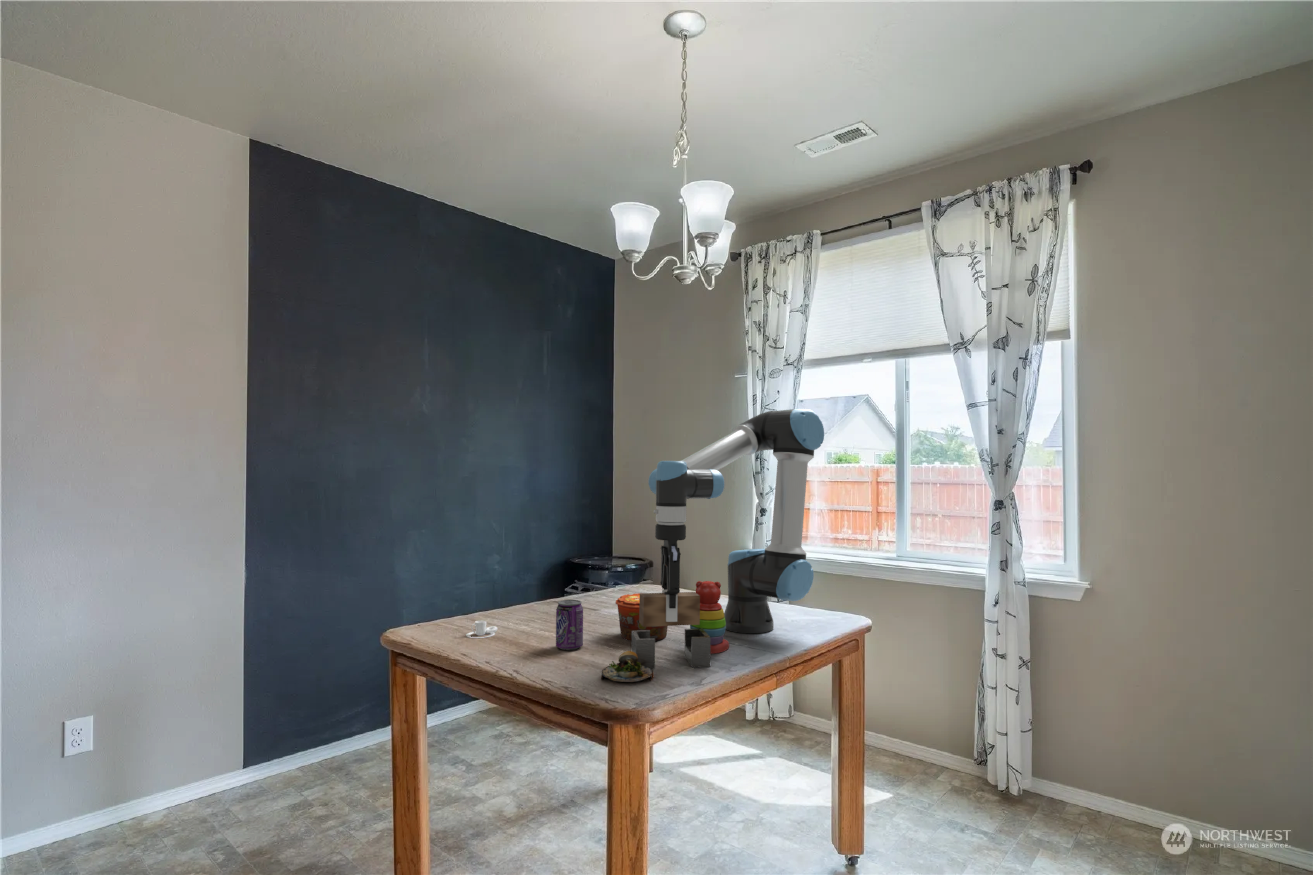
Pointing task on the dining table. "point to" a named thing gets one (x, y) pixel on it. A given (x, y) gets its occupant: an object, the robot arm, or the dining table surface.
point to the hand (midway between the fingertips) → (669, 618)
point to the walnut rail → (655, 609)
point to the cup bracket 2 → (697, 647)
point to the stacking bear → (712, 615)
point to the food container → (635, 618)
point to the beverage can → (569, 624)
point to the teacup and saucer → (482, 629)
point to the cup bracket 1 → (644, 647)
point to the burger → (627, 669)
